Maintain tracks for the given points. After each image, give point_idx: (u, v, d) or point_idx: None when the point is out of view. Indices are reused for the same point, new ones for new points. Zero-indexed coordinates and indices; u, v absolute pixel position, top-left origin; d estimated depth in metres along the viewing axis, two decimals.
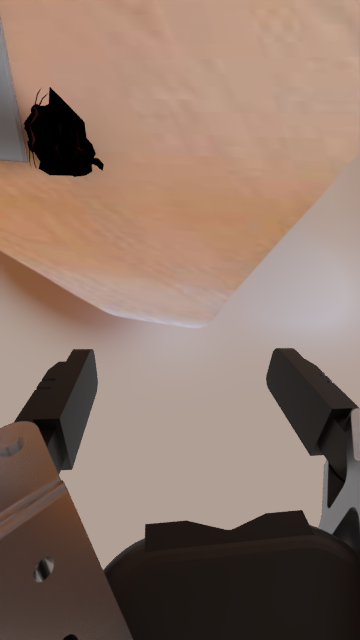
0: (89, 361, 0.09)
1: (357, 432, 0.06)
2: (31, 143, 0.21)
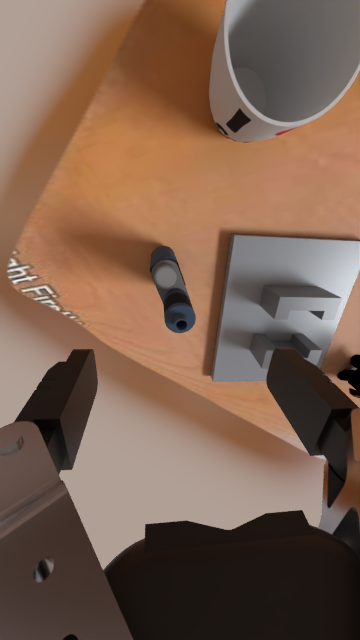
0: (89, 361, 0.09)
1: (357, 432, 0.06)
2: None
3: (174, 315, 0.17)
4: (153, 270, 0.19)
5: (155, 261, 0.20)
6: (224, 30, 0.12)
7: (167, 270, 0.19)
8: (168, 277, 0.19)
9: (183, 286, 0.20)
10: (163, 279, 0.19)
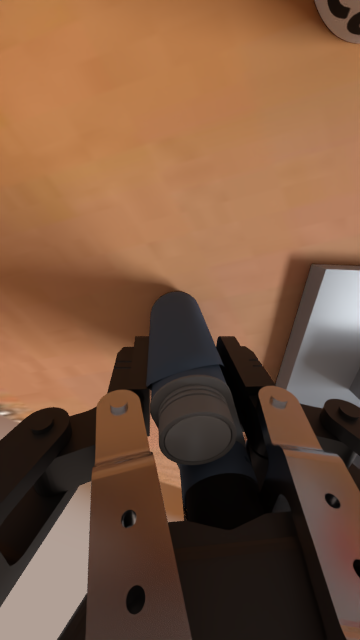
0: None
1: (267, 413, 0.07)
2: None
3: None
4: (156, 401, 0.06)
5: (163, 370, 0.07)
6: None
7: (203, 423, 0.06)
8: (204, 439, 0.06)
9: (237, 433, 0.07)
10: (188, 444, 0.06)
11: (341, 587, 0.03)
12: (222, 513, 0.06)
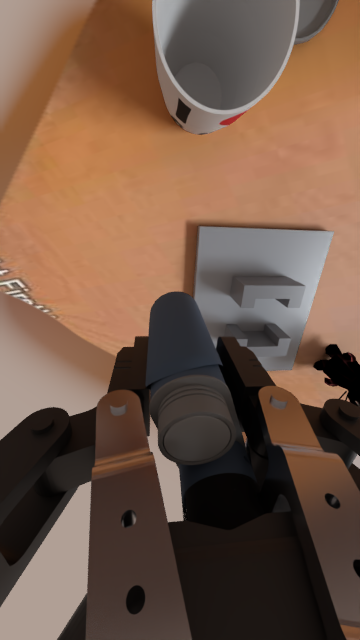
0: None
1: (267, 413, 0.07)
2: None
3: None
4: (155, 401, 0.06)
5: (162, 370, 0.07)
6: (153, 22, 0.12)
7: (202, 423, 0.06)
8: (203, 439, 0.06)
9: (237, 433, 0.07)
10: (187, 444, 0.06)
11: (341, 587, 0.03)
12: (221, 513, 0.06)
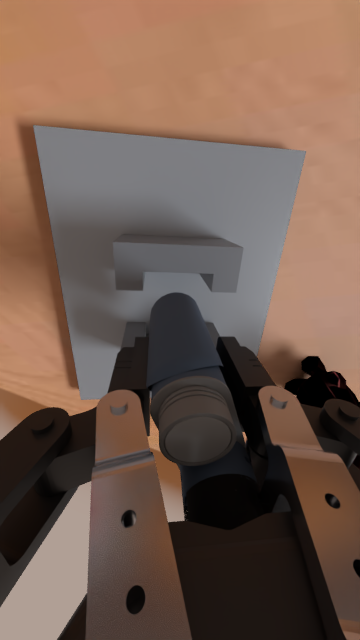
0: None
1: (267, 413, 0.07)
2: None
3: None
4: (156, 402, 0.06)
5: (163, 371, 0.07)
6: None
7: (203, 424, 0.06)
8: (204, 440, 0.06)
9: (237, 433, 0.07)
10: (188, 445, 0.06)
11: (341, 587, 0.03)
12: (222, 514, 0.06)
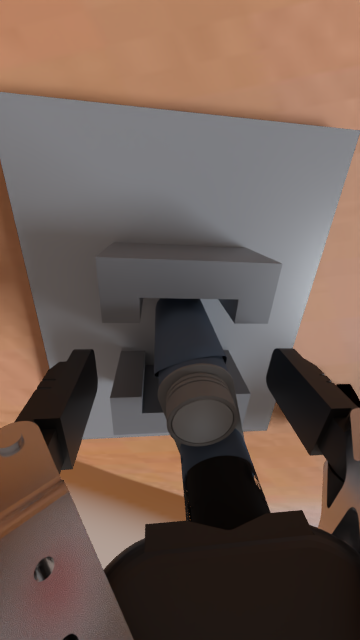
0: (89, 361, 0.09)
1: (356, 432, 0.06)
2: None
3: None
4: (164, 386, 0.07)
5: (171, 358, 0.07)
6: None
7: (209, 406, 0.06)
8: (208, 422, 0.06)
9: None
10: (193, 426, 0.06)
11: None
12: (221, 489, 0.06)
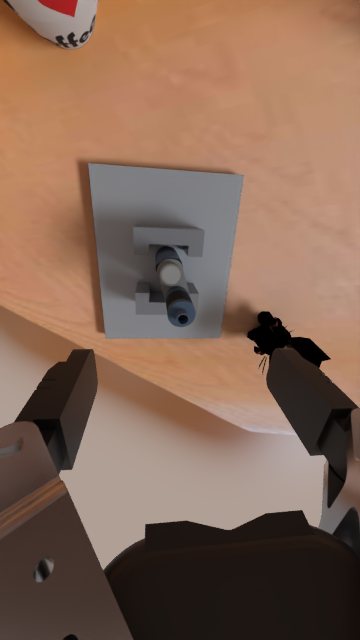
0: (89, 361, 0.09)
1: (357, 432, 0.06)
2: None
3: (176, 310, 0.18)
4: (159, 267, 0.21)
5: (161, 259, 0.21)
6: None
7: (172, 268, 0.20)
8: (173, 275, 0.20)
9: (185, 285, 0.22)
10: (168, 276, 0.20)
11: None
12: (176, 293, 0.20)
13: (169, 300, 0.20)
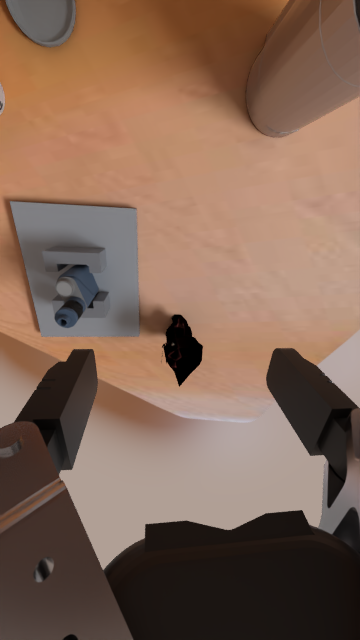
0: (89, 361, 0.09)
1: (357, 432, 0.06)
2: (171, 366, 0.32)
3: (60, 315, 0.25)
4: (57, 283, 0.28)
5: (60, 276, 0.28)
6: None
7: (64, 284, 0.27)
8: (65, 289, 0.27)
9: (80, 295, 0.29)
10: (61, 290, 0.27)
11: None
12: (67, 302, 0.27)
13: None
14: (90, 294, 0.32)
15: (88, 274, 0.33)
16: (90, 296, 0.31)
